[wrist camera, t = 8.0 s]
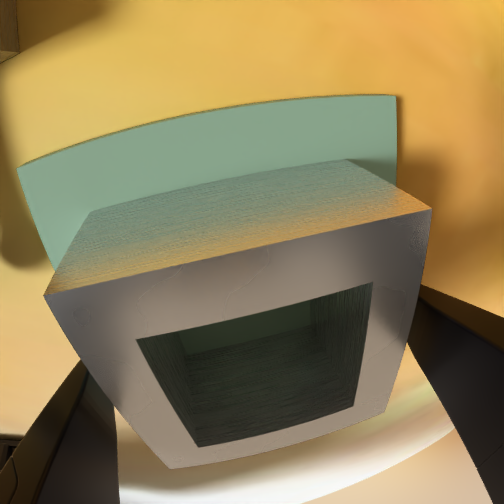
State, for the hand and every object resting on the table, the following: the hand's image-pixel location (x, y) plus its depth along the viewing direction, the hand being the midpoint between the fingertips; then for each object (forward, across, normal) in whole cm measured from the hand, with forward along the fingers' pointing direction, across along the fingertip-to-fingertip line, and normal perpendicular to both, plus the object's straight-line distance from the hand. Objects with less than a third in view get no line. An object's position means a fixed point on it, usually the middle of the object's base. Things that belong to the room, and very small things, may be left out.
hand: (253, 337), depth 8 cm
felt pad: (+2, 0, 0) cm, 2 cm away
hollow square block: (+2, 0, 0) cm, 2 cm away
